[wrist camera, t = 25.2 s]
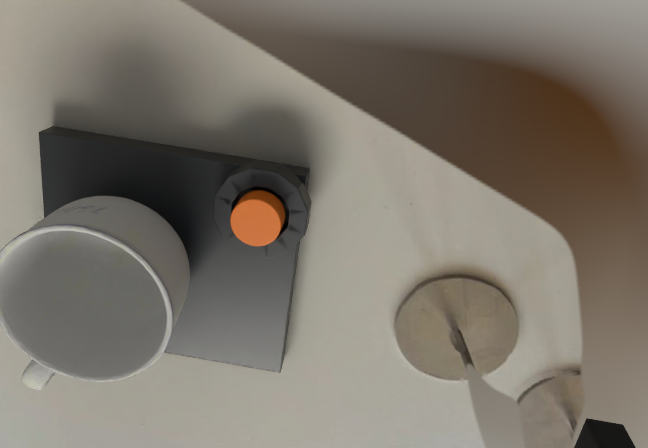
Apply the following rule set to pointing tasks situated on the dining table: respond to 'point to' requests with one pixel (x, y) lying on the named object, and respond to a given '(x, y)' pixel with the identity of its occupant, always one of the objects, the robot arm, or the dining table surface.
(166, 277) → the teacup
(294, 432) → the dining table surface
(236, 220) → the button
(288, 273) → the scale
